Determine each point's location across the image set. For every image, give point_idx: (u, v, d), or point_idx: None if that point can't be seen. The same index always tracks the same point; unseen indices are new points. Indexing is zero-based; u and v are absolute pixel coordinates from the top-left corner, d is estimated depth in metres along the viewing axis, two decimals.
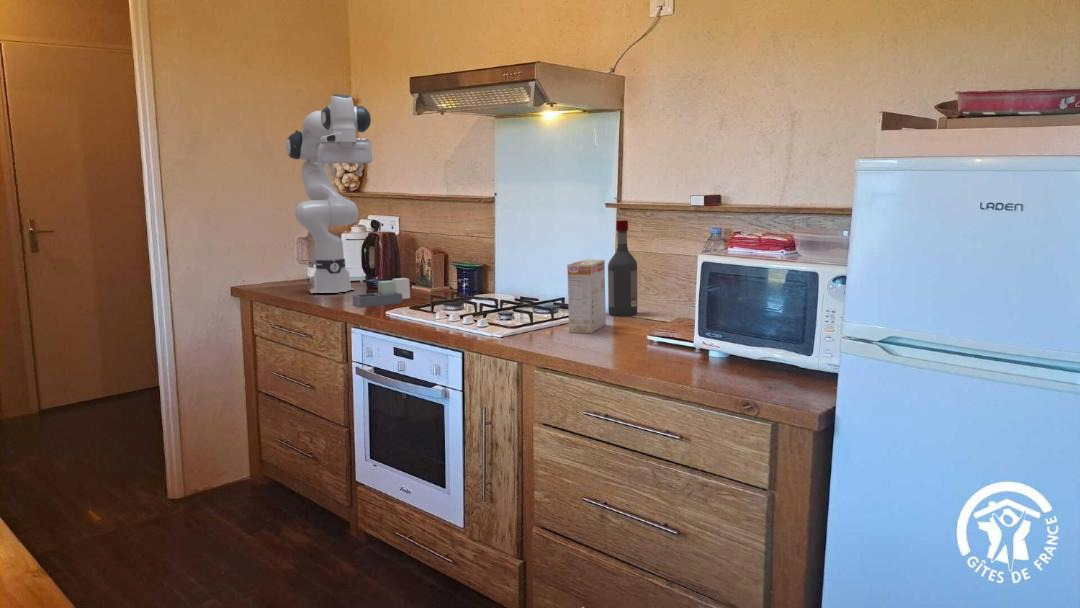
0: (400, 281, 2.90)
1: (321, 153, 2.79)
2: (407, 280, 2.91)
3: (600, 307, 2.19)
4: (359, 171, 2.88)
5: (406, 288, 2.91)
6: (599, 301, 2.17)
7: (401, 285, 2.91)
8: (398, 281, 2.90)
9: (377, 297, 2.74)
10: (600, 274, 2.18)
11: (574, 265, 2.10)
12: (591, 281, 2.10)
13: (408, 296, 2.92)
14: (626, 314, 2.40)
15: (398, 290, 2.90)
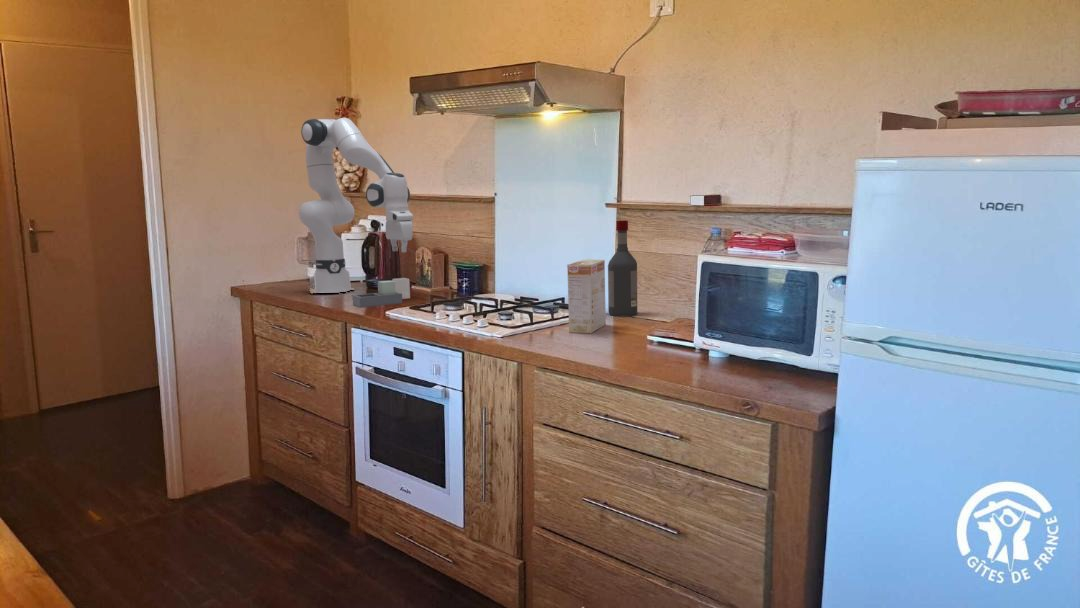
0: (400, 281, 2.90)
1: None
2: (407, 280, 2.91)
3: (600, 307, 2.19)
4: None
5: (406, 288, 2.91)
6: (599, 301, 2.17)
7: (401, 285, 2.90)
8: (398, 281, 2.90)
9: (377, 297, 2.74)
10: (600, 274, 2.18)
11: (574, 265, 2.10)
12: (591, 281, 2.10)
13: (408, 296, 2.92)
14: (626, 314, 2.40)
15: (398, 290, 2.90)
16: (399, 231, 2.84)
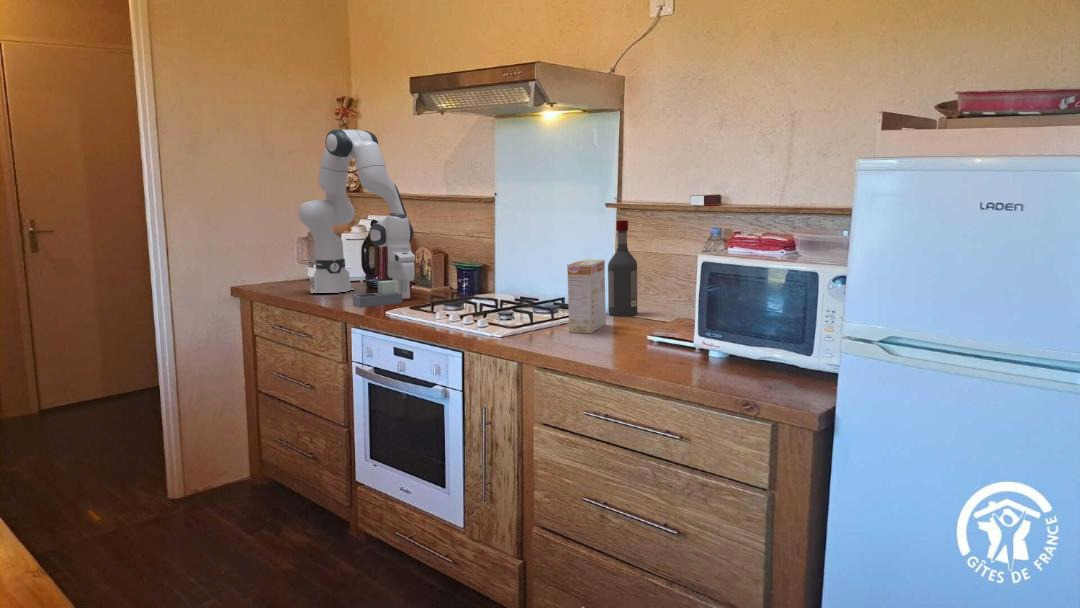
0: (400, 281, 2.90)
1: None
2: None
3: (600, 307, 2.19)
4: None
5: None
6: (599, 301, 2.17)
7: (401, 285, 2.90)
8: (398, 281, 2.90)
9: (377, 297, 2.74)
10: (600, 274, 2.18)
11: (574, 265, 2.10)
12: (591, 281, 2.10)
13: (408, 296, 2.92)
14: (626, 314, 2.40)
15: (398, 290, 2.90)
16: (401, 272, 2.86)
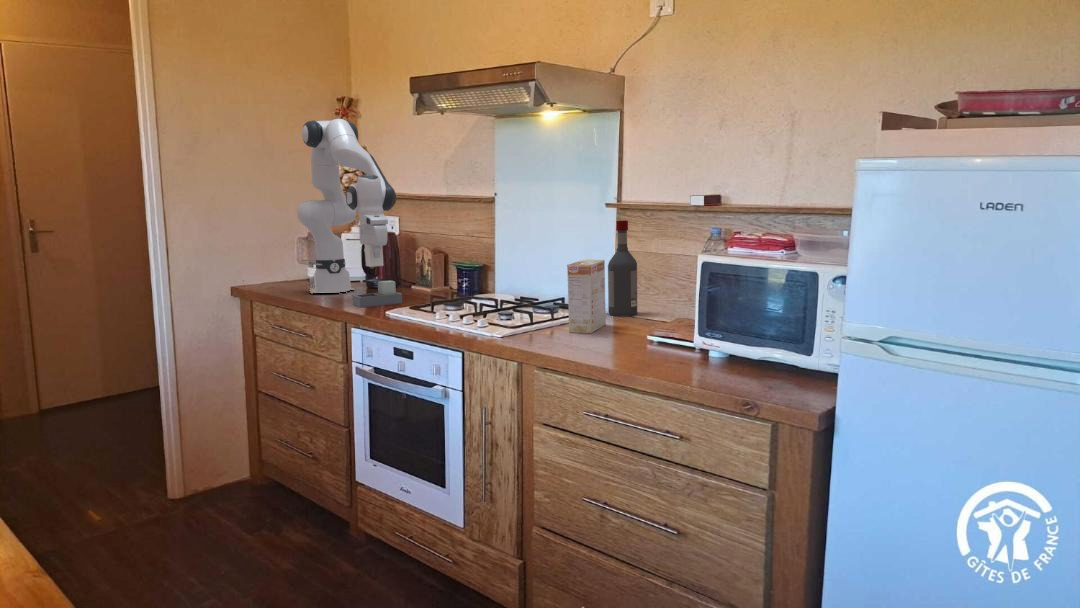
0: (372, 246, 2.75)
1: None
2: None
3: (600, 307, 2.19)
4: None
5: None
6: (599, 301, 2.17)
7: None
8: (370, 246, 2.74)
9: (377, 297, 2.74)
10: (600, 274, 2.18)
11: (574, 265, 2.10)
12: (591, 281, 2.10)
13: (381, 262, 2.77)
14: (626, 314, 2.40)
15: (370, 255, 2.75)
16: (373, 236, 2.71)
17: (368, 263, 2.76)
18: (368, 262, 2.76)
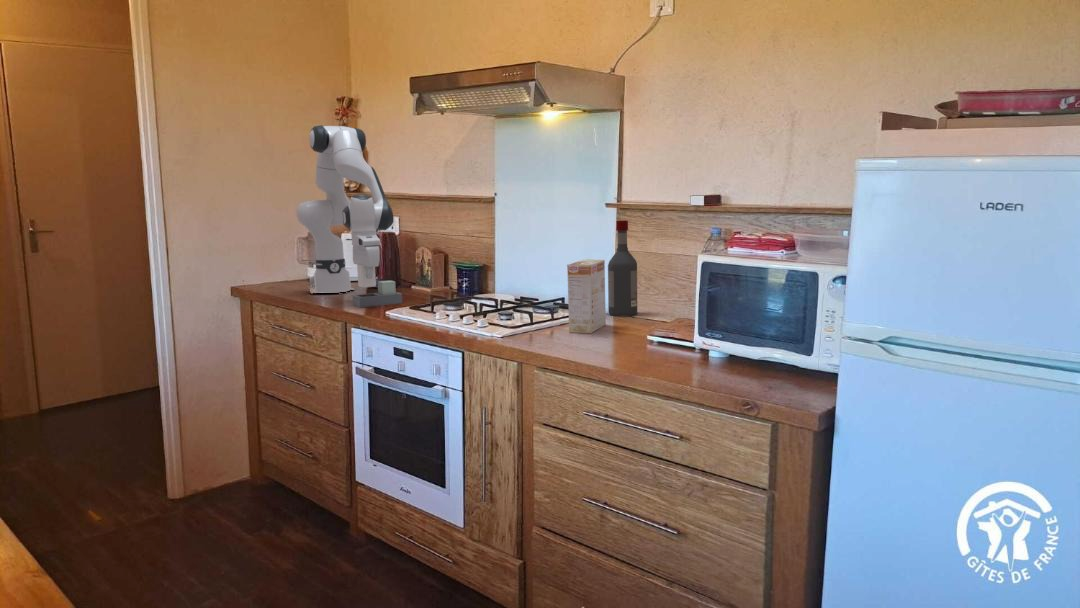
0: (365, 267, 2.72)
1: None
2: None
3: (600, 307, 2.18)
4: None
5: None
6: (599, 301, 2.17)
7: None
8: (363, 267, 2.72)
9: (377, 297, 2.74)
10: (600, 274, 2.18)
11: (574, 265, 2.10)
12: (591, 281, 2.10)
13: (374, 283, 2.74)
14: (626, 314, 2.40)
15: (363, 276, 2.72)
16: (365, 257, 2.68)
17: (361, 284, 2.74)
18: (360, 283, 2.74)
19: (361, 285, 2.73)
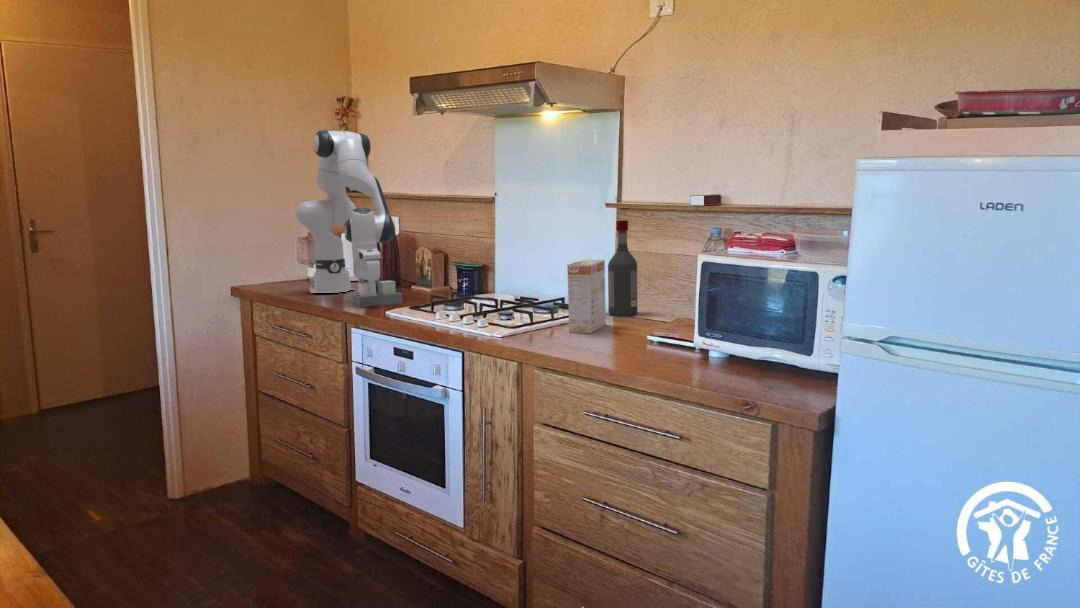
0: (365, 286, 2.73)
1: (379, 270, 2.68)
2: None
3: (600, 307, 2.19)
4: None
5: (372, 293, 2.75)
6: (599, 301, 2.17)
7: (367, 290, 2.74)
8: (363, 285, 2.73)
9: (377, 297, 2.74)
10: (600, 274, 2.18)
11: (574, 265, 2.10)
12: (591, 281, 2.10)
13: None
14: (626, 314, 2.40)
15: (363, 295, 2.73)
16: (366, 270, 2.69)
17: None
18: None
19: None
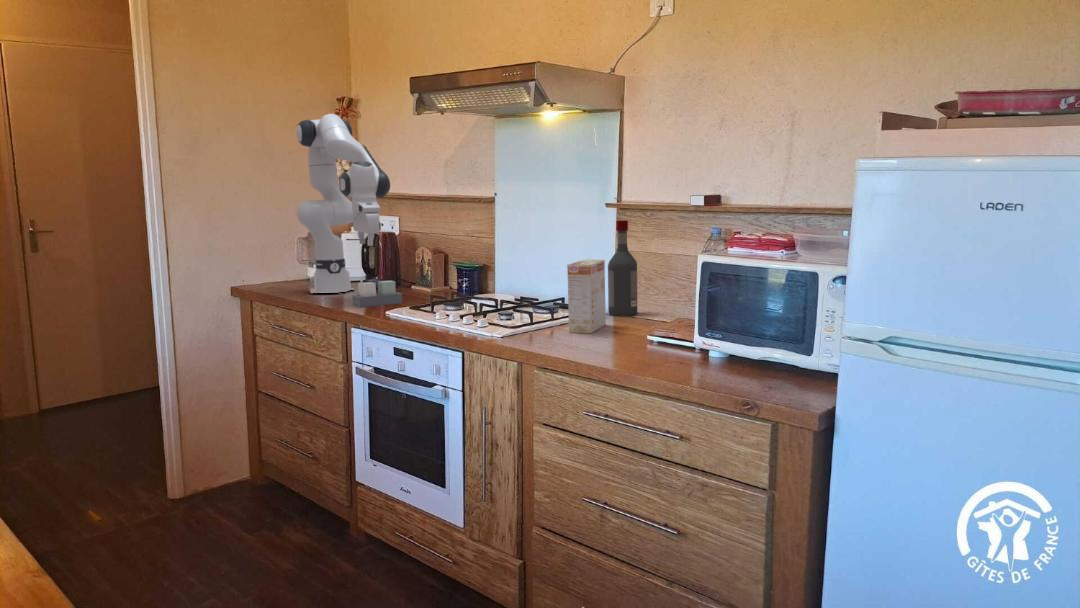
0: (365, 286, 2.73)
1: None
2: (373, 284, 2.75)
3: (600, 307, 2.18)
4: None
5: (372, 293, 2.75)
6: (599, 301, 2.17)
7: (367, 290, 2.74)
8: (363, 285, 2.73)
9: (377, 297, 2.74)
10: (600, 274, 2.18)
11: (574, 265, 2.10)
12: (591, 281, 2.10)
13: None
14: (626, 314, 2.40)
15: (363, 295, 2.73)
16: (365, 223, 2.69)
17: None
18: None
19: None
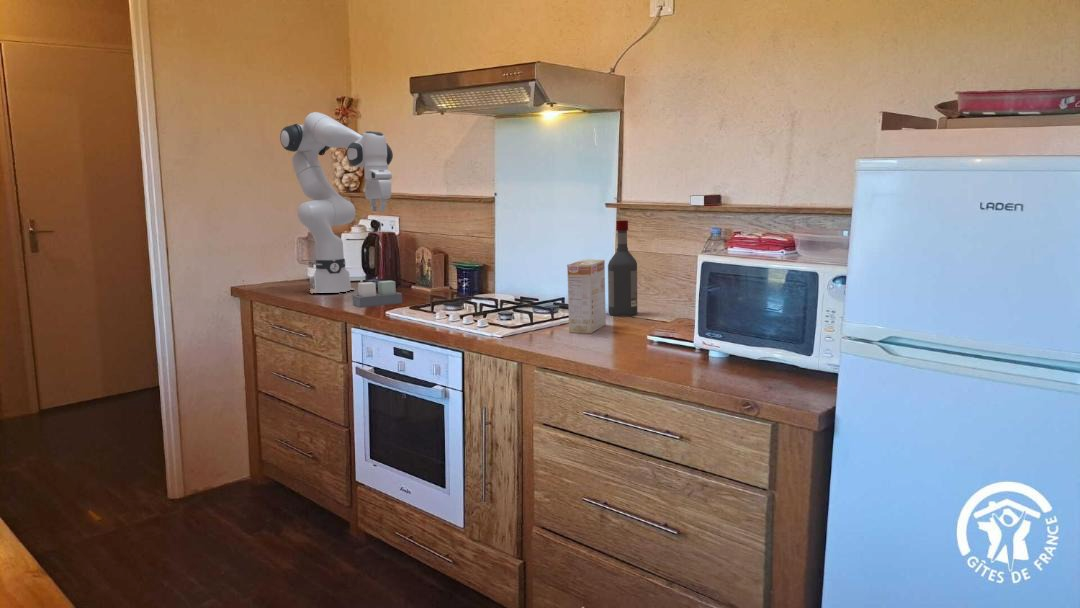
0: (365, 286, 2.73)
1: None
2: (373, 284, 2.75)
3: (600, 307, 2.18)
4: None
5: (372, 293, 2.75)
6: (599, 301, 2.17)
7: (367, 290, 2.74)
8: (363, 285, 2.73)
9: (377, 297, 2.74)
10: (600, 274, 2.18)
11: (574, 265, 2.10)
12: (591, 281, 2.10)
13: None
14: (626, 314, 2.40)
15: (363, 295, 2.73)
16: (378, 190, 2.82)
17: None
18: None
19: None
